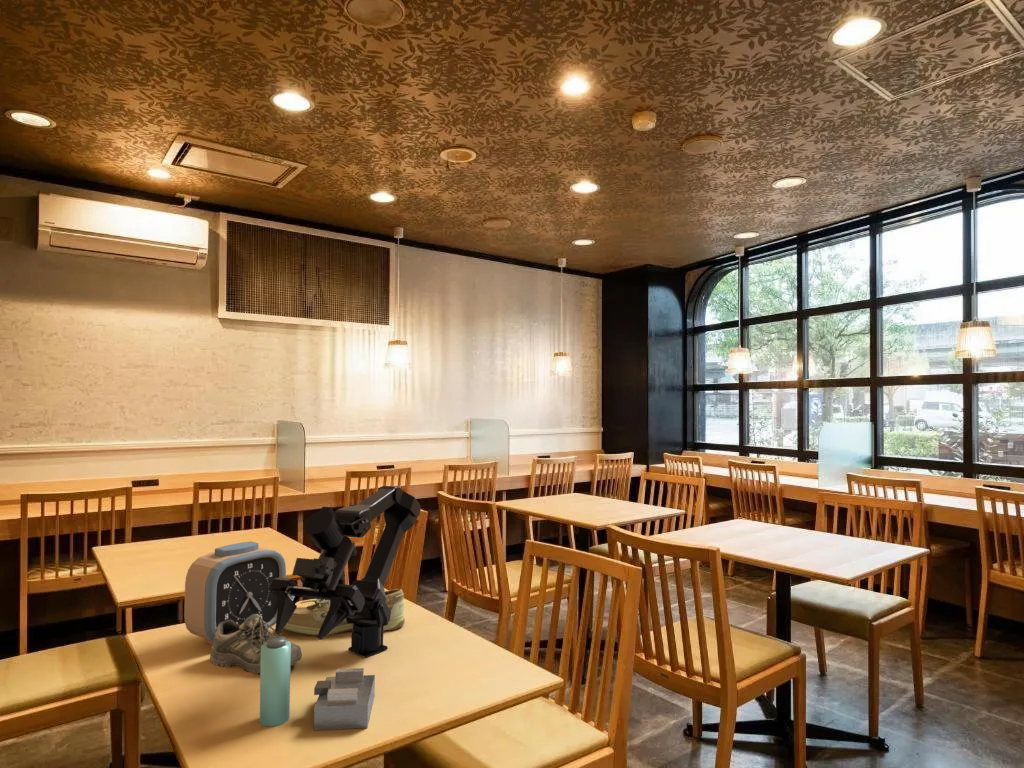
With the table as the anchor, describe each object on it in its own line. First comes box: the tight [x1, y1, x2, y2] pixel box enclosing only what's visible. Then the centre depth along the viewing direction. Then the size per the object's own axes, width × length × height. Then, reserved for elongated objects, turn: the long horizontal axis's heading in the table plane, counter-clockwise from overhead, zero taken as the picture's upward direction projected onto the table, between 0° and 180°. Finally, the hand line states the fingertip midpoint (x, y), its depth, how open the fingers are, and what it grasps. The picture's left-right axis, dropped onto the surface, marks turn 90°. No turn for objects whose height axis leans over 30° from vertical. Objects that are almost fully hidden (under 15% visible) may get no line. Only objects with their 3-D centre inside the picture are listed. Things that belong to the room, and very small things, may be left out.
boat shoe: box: [283, 588, 406, 637], centre depth 159 cm, size 11×30×9 cm, turn 103°
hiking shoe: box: [209, 614, 303, 675], centre depth 137 cm, size 9×21×12 cm
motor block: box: [313, 667, 376, 731], centre depth 115 cm, size 12×10×6 cm
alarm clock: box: [183, 541, 287, 645], centre depth 151 cm, size 21×10×22 cm, turn 148°
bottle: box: [258, 635, 292, 727], centre depth 113 cm, size 5×5×14 cm
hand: (297, 635), depth 119 cm, fingers open, 9 cm apart
